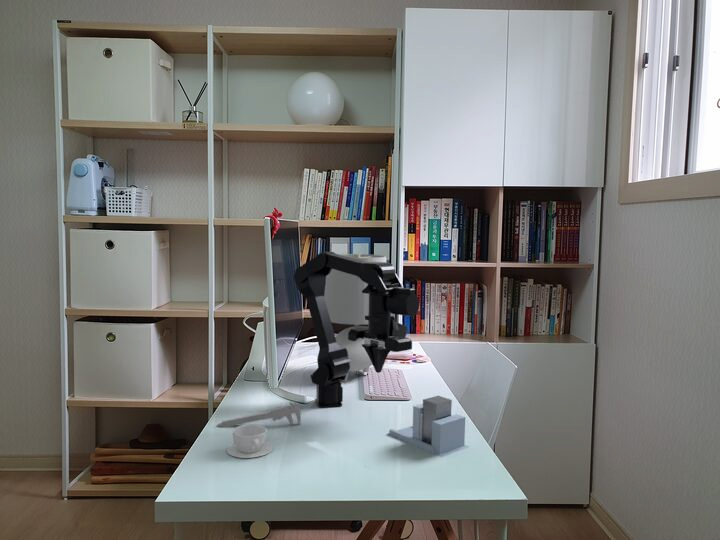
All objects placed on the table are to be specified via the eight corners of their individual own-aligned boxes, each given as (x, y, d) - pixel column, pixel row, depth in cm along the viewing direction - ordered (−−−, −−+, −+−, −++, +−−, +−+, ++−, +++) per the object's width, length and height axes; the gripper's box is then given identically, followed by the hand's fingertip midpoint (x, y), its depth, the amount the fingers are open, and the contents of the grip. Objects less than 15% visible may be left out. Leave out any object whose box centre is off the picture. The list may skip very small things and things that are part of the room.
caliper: (300, 424, 147) (300, 399, 146) (300, 426, 146) (300, 401, 145) (217, 426, 144) (216, 401, 144) (216, 428, 143) (216, 402, 143)
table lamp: (364, 390, 176) (366, 257, 173) (306, 379, 187) (307, 253, 184) (400, 374, 195) (402, 254, 192) (345, 365, 207) (347, 251, 203)
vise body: (387, 438, 138) (388, 406, 137) (414, 430, 143) (415, 399, 143) (441, 461, 125) (442, 426, 124) (469, 451, 130) (470, 417, 130)
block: (421, 443, 132) (423, 399, 131) (437, 438, 135) (438, 395, 134) (435, 448, 129) (436, 404, 128) (450, 443, 132) (451, 399, 131)
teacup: (221, 446, 131) (221, 426, 131) (264, 439, 136) (264, 419, 136) (234, 463, 123) (234, 441, 122) (279, 455, 127) (279, 434, 127)
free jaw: (412, 440, 133) (413, 406, 132) (431, 434, 137) (432, 400, 137) (419, 443, 131) (420, 408, 131) (439, 437, 135) (440, 403, 135)
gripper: (428, 314, 147) (426, 375, 149) (378, 305, 162) (377, 360, 163) (396, 318, 140) (394, 382, 142) (347, 308, 155) (346, 366, 156)
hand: (378, 372), depth 151 cm, fingers closed
